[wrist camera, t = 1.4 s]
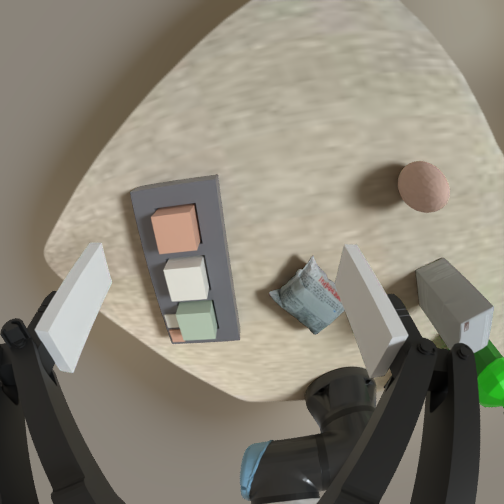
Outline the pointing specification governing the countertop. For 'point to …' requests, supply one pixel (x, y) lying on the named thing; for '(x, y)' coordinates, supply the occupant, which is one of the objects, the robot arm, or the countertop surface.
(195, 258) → the cream key
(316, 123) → the countertop surface
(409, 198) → the egg
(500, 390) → the plastic bottle
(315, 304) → the packaged food
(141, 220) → the keypad board
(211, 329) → the sage key
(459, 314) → the skincare box
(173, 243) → the terracotta key
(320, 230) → the countertop surface
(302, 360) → the countertop surface
